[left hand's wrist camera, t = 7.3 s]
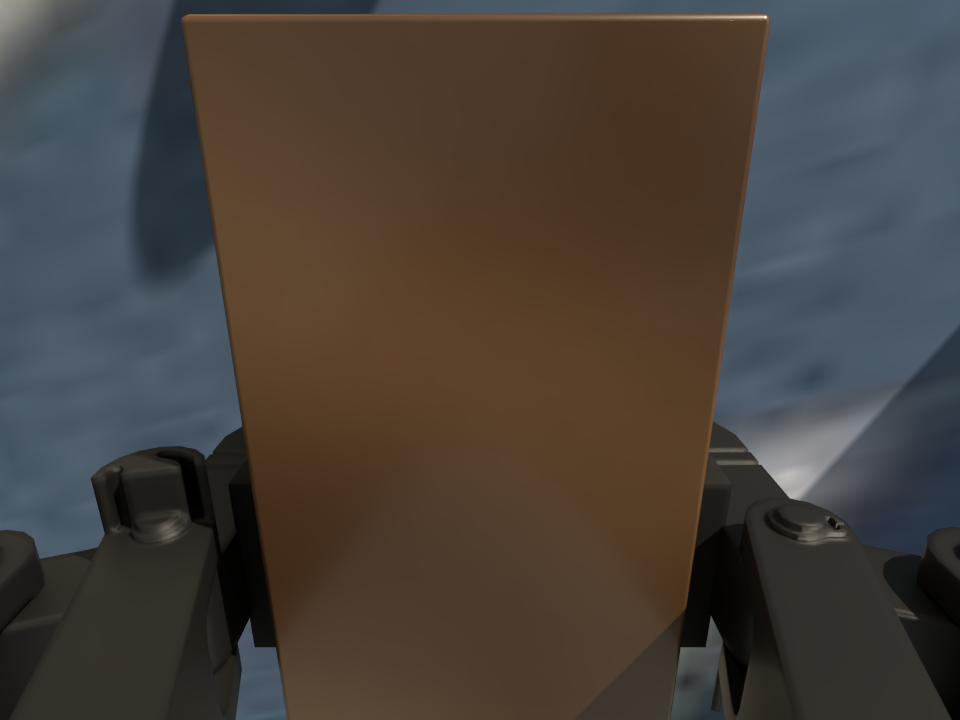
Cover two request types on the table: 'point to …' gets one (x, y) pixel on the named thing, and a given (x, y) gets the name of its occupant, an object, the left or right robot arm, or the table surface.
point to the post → (477, 341)
